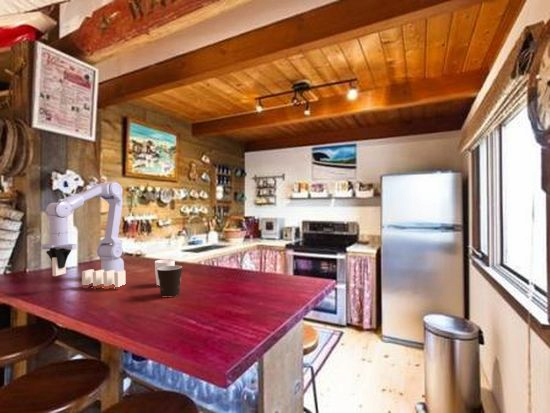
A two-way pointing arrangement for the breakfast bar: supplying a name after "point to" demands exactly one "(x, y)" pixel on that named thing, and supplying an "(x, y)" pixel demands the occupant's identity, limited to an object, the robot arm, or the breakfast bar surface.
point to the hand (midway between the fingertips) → (59, 267)
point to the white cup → (161, 264)
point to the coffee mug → (169, 280)
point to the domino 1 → (55, 268)
